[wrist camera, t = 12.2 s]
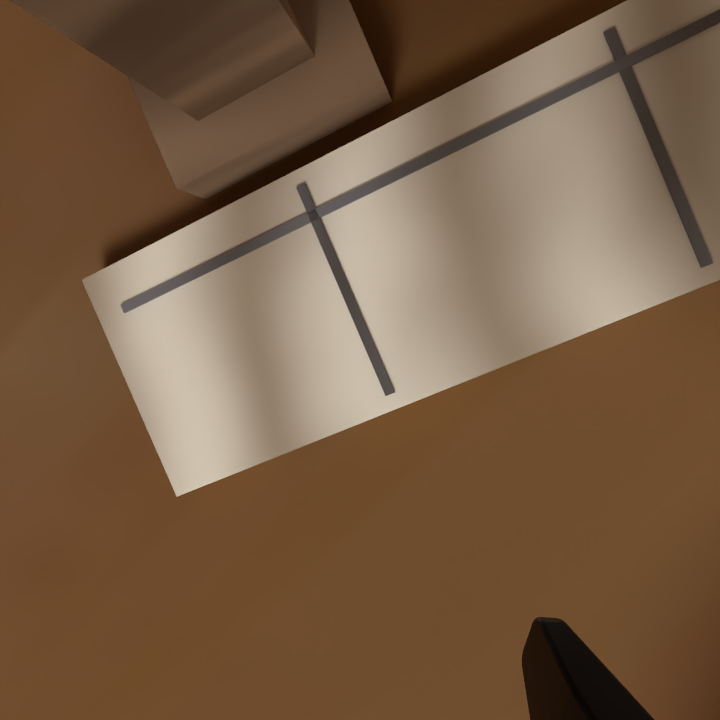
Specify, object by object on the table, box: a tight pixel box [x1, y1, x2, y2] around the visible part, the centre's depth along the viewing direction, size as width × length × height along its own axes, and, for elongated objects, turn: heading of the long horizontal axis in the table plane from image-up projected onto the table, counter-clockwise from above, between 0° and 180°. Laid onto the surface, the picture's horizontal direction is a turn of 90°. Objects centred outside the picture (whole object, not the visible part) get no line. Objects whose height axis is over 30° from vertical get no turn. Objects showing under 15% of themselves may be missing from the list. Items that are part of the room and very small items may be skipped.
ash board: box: [82, 0, 720, 496], centre depth 18 cm, size 26×8×1 cm, turn 114°
